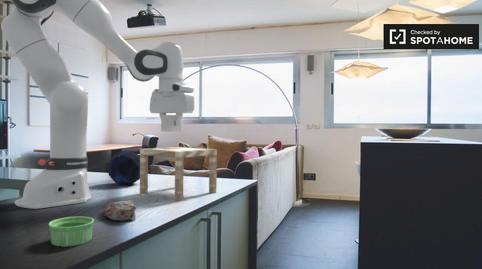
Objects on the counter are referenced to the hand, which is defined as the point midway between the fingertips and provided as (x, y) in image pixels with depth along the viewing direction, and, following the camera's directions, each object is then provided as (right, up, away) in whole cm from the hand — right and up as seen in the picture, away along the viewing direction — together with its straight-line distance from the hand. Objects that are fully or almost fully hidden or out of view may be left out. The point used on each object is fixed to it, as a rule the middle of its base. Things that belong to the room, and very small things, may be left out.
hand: (170, 125), depth 133 cm
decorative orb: (-23, -25, +20) cm, 39 cm away
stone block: (0, -2, 0) cm, 2 cm away
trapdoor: (+3, -10, +2) cm, 10 cm away
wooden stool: (+3, -25, +2) cm, 26 cm away
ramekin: (-11, -27, -54) cm, 61 cm away
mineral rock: (-8, -27, -33) cm, 43 cm away
